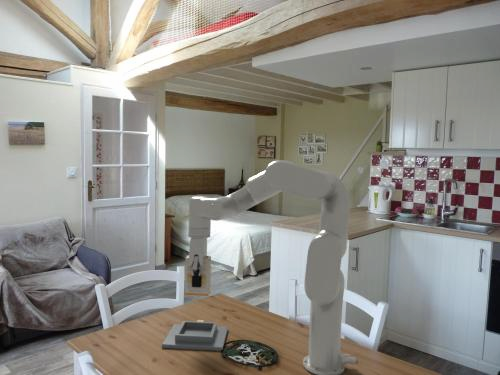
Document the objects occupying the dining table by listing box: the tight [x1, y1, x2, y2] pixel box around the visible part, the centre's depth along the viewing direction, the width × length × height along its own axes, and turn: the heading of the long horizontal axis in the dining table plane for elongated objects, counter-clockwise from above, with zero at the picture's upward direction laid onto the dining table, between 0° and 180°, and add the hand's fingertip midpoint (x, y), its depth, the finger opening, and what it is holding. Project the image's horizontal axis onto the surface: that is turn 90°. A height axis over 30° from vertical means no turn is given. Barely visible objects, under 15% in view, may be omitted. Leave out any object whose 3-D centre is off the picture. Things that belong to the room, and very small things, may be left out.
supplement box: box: [184, 254, 212, 297], centre depth 139 cm, size 8×5×13 cm, turn 84°
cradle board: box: [161, 319, 229, 352], centre depth 140 cm, size 20×17×4 cm
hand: (198, 283), depth 139 cm, fingers closed on supplement box, 5 cm apart
